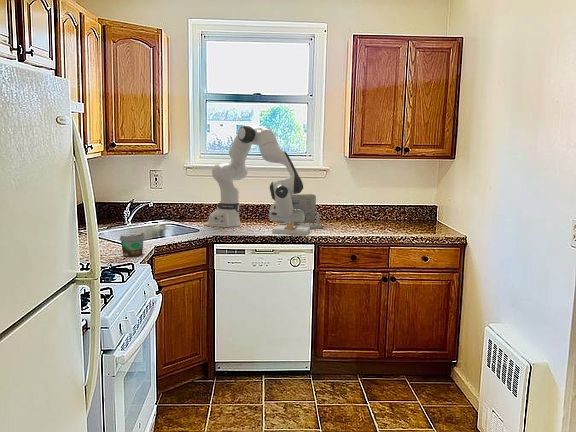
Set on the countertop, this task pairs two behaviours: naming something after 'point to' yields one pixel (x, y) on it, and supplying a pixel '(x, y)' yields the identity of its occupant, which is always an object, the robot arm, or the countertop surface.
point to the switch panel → (291, 230)
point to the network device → (304, 207)
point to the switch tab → (290, 225)
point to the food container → (132, 245)
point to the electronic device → (313, 225)
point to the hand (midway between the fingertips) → (288, 223)
